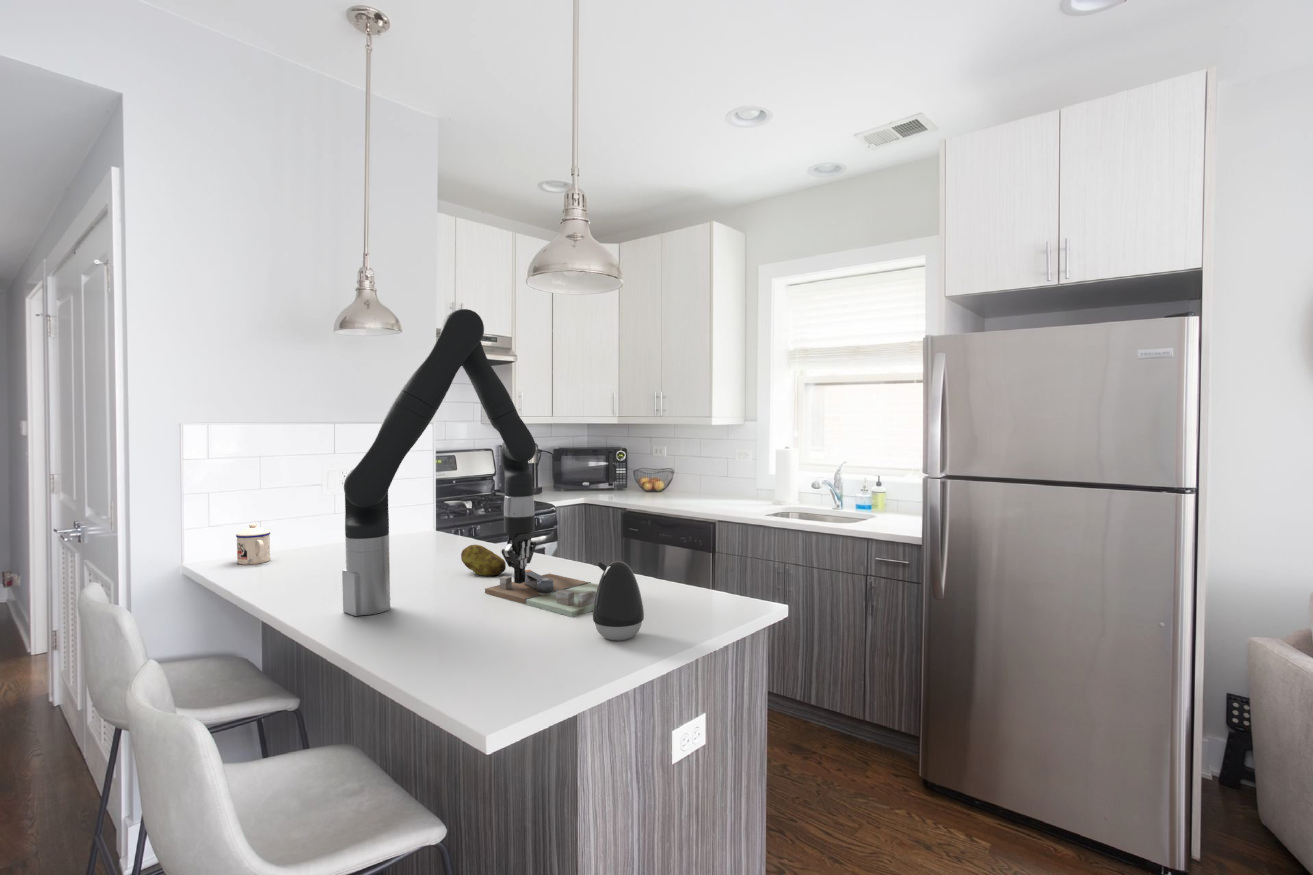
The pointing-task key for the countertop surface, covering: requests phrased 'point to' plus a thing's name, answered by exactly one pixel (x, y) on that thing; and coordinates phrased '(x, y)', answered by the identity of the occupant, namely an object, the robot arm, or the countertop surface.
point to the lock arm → (539, 582)
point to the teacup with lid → (253, 545)
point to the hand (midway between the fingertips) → (519, 582)
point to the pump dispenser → (617, 602)
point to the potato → (482, 561)
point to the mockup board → (550, 594)
